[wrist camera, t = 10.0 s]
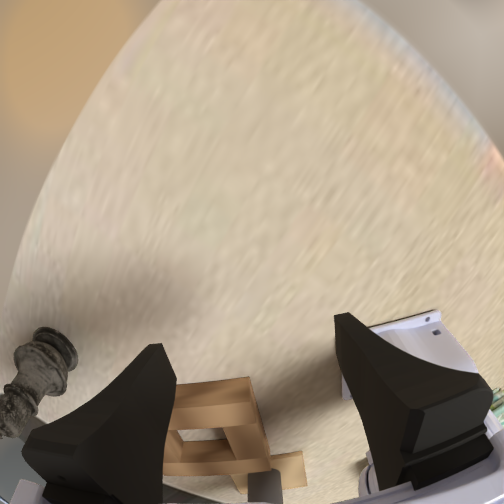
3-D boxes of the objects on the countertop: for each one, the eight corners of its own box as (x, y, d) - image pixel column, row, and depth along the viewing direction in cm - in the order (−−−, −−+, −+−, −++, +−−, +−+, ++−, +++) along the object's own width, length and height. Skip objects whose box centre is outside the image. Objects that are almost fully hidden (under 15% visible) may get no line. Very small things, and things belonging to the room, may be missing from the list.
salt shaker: (88, 349, 25) (32, 449, 14) (72, 382, 27) (26, 471, 16) (37, 312, 24) (-35, 398, 13) (26, 349, 26) (-31, 429, 14)
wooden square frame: (249, 376, 26) (249, 401, 24) (269, 449, 31) (271, 470, 28) (125, 387, 27) (116, 409, 24) (168, 455, 31) (164, 475, 28)
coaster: (302, 451, 31) (302, 454, 30) (306, 482, 34) (307, 485, 34) (224, 460, 31) (224, 464, 31) (240, 490, 35) (240, 494, 34)
